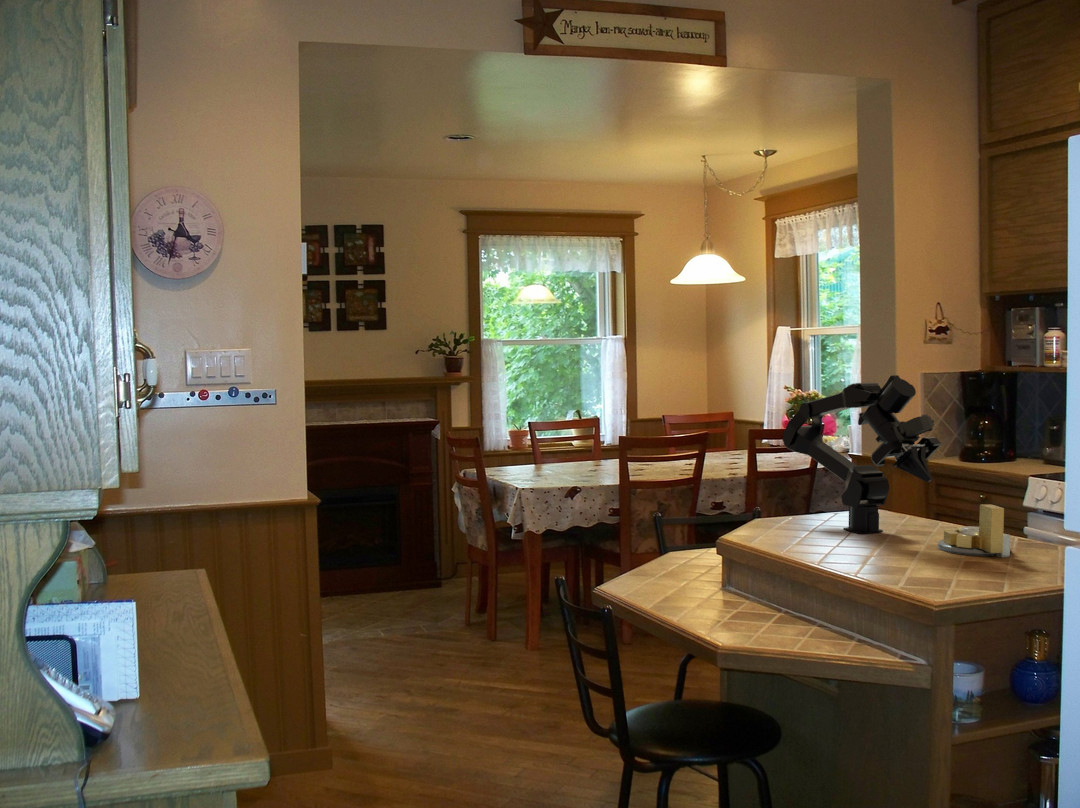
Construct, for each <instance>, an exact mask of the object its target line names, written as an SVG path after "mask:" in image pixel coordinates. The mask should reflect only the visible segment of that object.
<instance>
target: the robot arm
mask: <svg viewBox="0 0 1080 808" xmlns="http://www.w3.org/2000/svg"><path fill="white" fill-rule="evenodd" d="M916 390H917V389H916V387H915V386H914V385H913V384H911V383H909V382H908V380H905V379H903V378H901V377H900V376H899V375H898V374H897V375H896V374H893V375H890V376H889V378H888V379H887V381H886V383H884V385H883V386H882V387H881V386H880V385H879V383H878V382H853V383H850V384H849V385H847V386H846V387H844V388H843V389H842V391H841V392H839V393H835V394H832V395H829V396H824V397H822V398H818V399H815V400H814V399H813V400H811V401H805V402H802V403H801V405H800V407H799V408H798V411H797V412H796V413H795V414H794V415H793V416H792V417H791V419H790V420H788V423H787V424H786V427H785V429H784V432H783V433H782V441H783V445H784V447H786V449H788V450H790V451H792V452H794V453H798V454H802V455H806V456H809V457H810V458H812V459H813V460H815V461H816V462H817V463H818V464H820V465H821V466H823V467H824V468H825V469H827V471H829V472H831V473H833V475H835V476H836V477H838V478H839V479H840V480H841V481H843V482H844V483H845V488H846V490H845V491H844V492H843V493H842V495H841V496H840V497H841V503H842V505H843V506H847V507H848V526H847V527H843V529H842V530H843V531H848V532H851V533H857V534H860V535H861V534H862V535H867V534H877V533H876V532H878V533H884V530H883V529H880V512H879V506H884V505H885V504H886V500H887V497H888V494H889V490H890V484H889V480H888V478H887V477H886V476H885V475H884V474H885V472H884V471H880V470H879V469H878V468H877V467H883V466H885V464H886V461H885V459H886V458H894V460H895V462H894V463H893V465H892V466H893V467H894V468H897V469H900V470H902V471H904V472H905V473H908V474H911V475H912V476H914V477H916V478H918V479H920V480H921V481H924V482H926V483H930V482H931V481H932V479H933V477H932V475H931V472H930V468H929V466H928V463H927V460H928V459H929V458H930V457H931V456H932V455H933V454H934V453H936V451H937V450H938V449H939V448H940V447H941V446H942V442H941V441H940V440H939V439H938V438H937V437H936V436H935V437H933V436H929V437H922V438H921V437H920V435H922V434H924V433H927V432H932V431H933V430H934V426H935V425H934V424H935V420H934V419H932V417H931V416H929V415H928V414H922V415H920V416H916V417H914V418H911V419H909V420H907V421H902V420H901V421H900V420H899V419H898V418H897V416H896V415H895V414H899V413H902V412H903V410H904V409H905V407H907V405H908V404H909V403H910V401H911V400H912V399H913V398H914V397H915V396H916V395H917V391H916ZM859 408H862V409H863V408H866V410H865V411H864V412H859V414H858V419H857V424H858V426H863V425H869V426H870V428H871V429H872V431H874V433H875V435H876V436H877V437H876V438H875V441H876V442H877V443H880V444H879V445H878V447H876V449H875V450H874V451H873V452H872V453H871V456H870V457H871V462H872V463H873V464H867V465H866V464H865V465H857V464H856V463H855V462H852V461H851V460H850V459H849V458H847V457H845V456H844V455H842V454H841V453H840V452H838V451H837V450H836V449H834V448H833V447H831V446H830V445H828V444H827V443H826V442H824V441H823V436H822V434H821V432H823V421H822V419H823V418H824V416H826V415H829V414H833V413H834V414H835V413H837V412H841V411H844V410H848V409H859ZM811 418H812V421H811V425H804V424H805V423H806V422H807V421H808V420H809V419H811ZM919 439H920V440H919ZM918 440H919V441H918ZM917 441H918V442H917ZM915 442H917V443H915ZM874 465H875V466H874Z"/></svg>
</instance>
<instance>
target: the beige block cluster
mask: <svg viewBox="0 0 1080 808" xmlns="http://www.w3.org/2000/svg"><path fill="white" fill-rule="evenodd" d="M1004 520H1005V508H1004V507H1001V506H998V505H995V504H979V520H978V521H979V523H978V524H979V526H978V527H979V535H969V534H961V527H962V526H961V527H954V528H952V527H948V528H945V529H943V540H944V543H947V544H949V545H956V546H957V547H965V548H973V547H976V548H979V549H982V550H985V551H987V552H990V553H1003V534H1005V533H1004V529H1005V527H1004V526H1005V524H1004V523H1005V522H1004Z"/></svg>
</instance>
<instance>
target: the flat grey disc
mask: <svg viewBox="0 0 1080 808" xmlns="http://www.w3.org/2000/svg"><path fill="white" fill-rule="evenodd" d="M961 534H969V535H979V526H970V525H967V526H961ZM937 549H938V550H940V551H943V552H946V553H951V554H955V555H960V556H961V555H963V556H969V557H970V556H972V557H999V558H1003V559H1004V558H1009V557H1010V555H1011V534H1007V533H1004V534H1003V553H990V552H987V551H985V550H982V549H979V548H976V547H973V548H965V547H957V546H956V545H949V544H947V543H944V539H940V540H939V541H937Z"/></svg>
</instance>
